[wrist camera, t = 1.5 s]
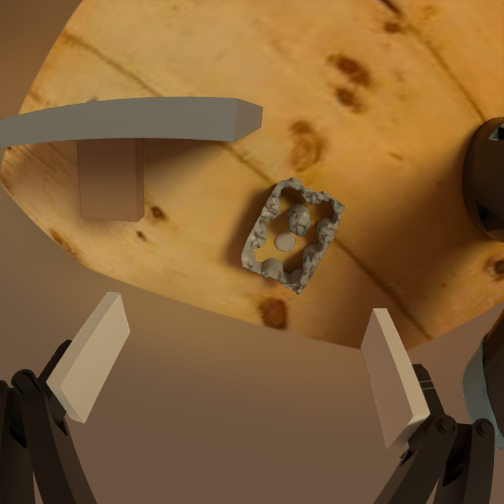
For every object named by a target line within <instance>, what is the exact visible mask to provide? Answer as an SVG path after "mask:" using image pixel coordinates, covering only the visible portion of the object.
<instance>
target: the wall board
mask: <svg viewBox="0 0 504 504" xmlns="http://www.w3.org/2000/svg"><path fill="white" fill-rule="evenodd" d="M262 111H263V107H261V106H258V105H255V104H252V103H249V102H247V101H243V100H240V99H236V98H218V97H147V98H130V99H116V100H106V101H96V102H88V103H80V104H73V105H67V106H61V107H55V108H49V109H44V110H39V111H34V112H29V113H25V114H20V115H16V116H12V117H8V118H4V119H1V120H0V148H3V147H10V146H17V145H25V144H33V143H43V142H53V141H65V140H77V149H78V173H79V188H80V199H81V209H82V216H83V217H93V218H102V219H111V220H120V221H129V222H138V221H139V220H141V219H142V218H143V217H144V186H143V151H144V138H178V139H199V140H215V141H229V142H234V141H236V140H238V139H240V138H241V137H243V136H245V135H247V134H249V133H251V132H252V131H254V130H256V129H258V128H260V127H261V121H262Z"/></svg>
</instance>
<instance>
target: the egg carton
mask: <svg viewBox="0 0 504 504" xmlns="http://www.w3.org/2000/svg"><path fill="white" fill-rule="evenodd" d="M289 186H290V187H292V188H293V189H295V190H301V195H302V196H303V197H304V198H305V200H306V202H307V203H309V204H311V205H313V204H314V203H317V204H318V203H320V202H322V201H323V200H324V201H327V202H328V201H329V199H331V204H332V207H333V209H334V211H335V213H334V215H333V216H332V218H330V217H326V218H322V219H321V220H320V221H319V222H318V224H317V235H318V238H319V242H318V244H311V245H308V246H307V247H306V248H305V249H304V251H303V269H296V270H294V271H293V272H292V273H291V274H289V273H287V272H284V271H283V264H282V262H281V261H280V260H278V259H276V258H269V259H267V260H266V261H264V263H261V262H259V261H257V260H256V259H255V253H254V251H253V250H252V249H256V248H260V247H261V246H262V245H263V244H264V243H265V240H266V234H267V228H266V226H265V224H264V223H265V222H266V221H268V220H270V221H271V220H274V218H275V217H276V216H277V215H278V214H279V213H280V199H279V197H278V196H280V195H281V189H283V188H287V187H289ZM344 208H345V205H342V204H341V203H339V201H337V200H335V199H333V198H332V196H331V194H329V193H327V192H325V191H322V192H321V193H316V192H314V191H313V190H310V189H307V188H304V187H303V185H302V181H301V180H299V179H296V178H294V177H293V178H292V179H291V180H290V181H284V180H282V181H281V182H280V183H277V184H276V185H275V188H274V190H273V192H272V194H271V195H270V197H269V198H268V200H267V203H266V205H265V206H264V208H263V211H262V213H261V215H260V216H259V218H258V220H257V222H256V224H255V226H254V228H253V230H252V231H251V233H250V235H249V237H248V239H247V241H246V244H245V246H244V249H243V251H242V254H241V259H242V265H243V267H245V268H247V269H249V270H251V271H252V272H253V271H254V272H257V273H259V274H261V275H263V276H264V277H266V278H267V277H268V276H269V277H272V278H274V279H276V280H279V283H280V284H281V285H283V286H284V287H286V288H288V289H291V290H293V291H295V292H297V294H300V293H301V292H302V290H303V289H304V288H305V286H306V285H307V283H308V281H309V280H310V278H311V277H312V275H313V273H314V271H315V268H316V266H317V265H318V263H319V262H320V260H321V259H322V258H323V255H324V253H325V251H326V250H327V248H328V246H329V245H330V243H331V242H332V240H333V238H334V235H335V233H336V230H337V227H338V223H339V221H340V217H341V214H342V212H343V211H344ZM309 210H310V209H309ZM309 210H308V208H306V207H305V206H304V205H301V204H297V205H294V206H292V207H291V208H290V209H289V210H288V215H287V222H288V227H289V230H290V231H291V232H292V233H294V234H296V235H297V236H304V235H305V234H306V232H307V229H308V228H309V226H310V225H311V217H310V213H309ZM295 244H296V240H295V237H294V236H293V235H292V234H291V233H287V232H285V233H281V234H279V235H278V236H277V237H276V239H275V245H276V247H277V249H278V250H280V251H283V252H285V251H290V250H292V249H293V248H294V247H295Z"/></svg>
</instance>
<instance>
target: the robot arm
mask: <svg viewBox="0 0 504 504" xmlns="http://www.w3.org/2000/svg"><path fill="white" fill-rule="evenodd" d="M463 195H464V201H465V205H466V208H467V211H468V213H469V215H470V217H471V219H472V221H473V222H474V224H475V225H476V226H477V227H478V228H479V229H480V230H481V231H483V232H484V233H485V234H486V235H488V236H489V237H490V238H492V239H494V240H496V241H499V242H502V243H504V117H498V118H494V119H492V120H490V121H488V122H487V123H485V124H484V125H483V126H482V127H481V128H480V129H479V130H478V132H477V133H476V134H475V136H474V138H473V139H472V141H471V143H470V146H469V148H468V151H467V154H466V158H465V162H464V168H463ZM129 333H130V329H129V325H128V322H127V318H126V315H125V311H124V307H123V303H122V299H121V295H120V293H116V292H107V294H106V295H105V296H104V298H103V299H102V300H101V302H100V303H99V305H98V306H97V307H96V309H95V310H94V311H93V313H92V314H91V315H90V317H89V318H88V320H87V321H86V322H85V324H84V325H83V327H82V328H81V330H80V331H79V332H78V334H77V335H76V337H75V338H74V340H73V341H71V340H66V341H65V342H64V343H63V344H61V345H60V346H59V347H58V349H57V350H56V352H55V355H53V356H52V358H51V360H50V361H49V362H48V364H47V365H46V367H45V368H44V370H43V371H42V373H41V374H40V376H39V377H38V379H37V378H36V376H35V374H34V373H33V372H32V371H31V370H28V369H22V370H20V371H18V372H17V373H15V374H14V376H13V377H12V379H11V384H12V386H13V387H14V388H10V387H9V386H8V384H7V383H6V382H5V381H3V380H0V504H35V496H34V482H33V472H34V475H35V479H36V482H37V486H38V489H39V492H40V495H41V498H42V501H43V504H97V502H96V500H95V498H94V496H93V493H92V491H91V489H90V487H89V484H88V482H87V480H86V477H85V475H84V472H83V470H82V467H81V464H80V462H79V459H78V457H77V453H76V451H75V448H74V445H73V442H72V439H71V435H70V432H69V429H68V426H67V422H66V420H65V418H64V416H65V414H66V412H67V413H68V415H69V416H70V418H71V419H73V420H76V421H79V422H82V423H85V421H86V419H87V417H88V415H89V413H90V411H91V409H92V407H93V404H94V402H95V400H96V398H97V396H98V394H99V392H100V390H101V388H102V386H103V384H104V381H105V380H106V378H107V375H108V374H109V371H110V370H111V367H112V366H113V364H114V362H115V360H116V358H117V356H118V354H119V352H120V350H121V348H122V346H123V344H124V343H125V340H126V339H127V337H128V335H129ZM360 347H361V351H362V354H363V357H364V361H365V365H366V368H367V372H368V375H369V379H370V383H371V386H372V390H373V394H374V398H375V401H376V405H377V410H378V414H379V418H380V422H381V426H382V431H383V435H384V439H385V444H386V449H393V448H399V447H402V446H403V445H404V444H405V443H406V442H407V441H408V443H409V448H408V449H407V451H405V452H404V453H403V455H402V456H401V457H400V458H402V460H401V462H400V463H399V465H398V467H397V468H396V470H395V472H394V473H393V475H392V476H391V478H390V480H389V481H388V483H387V484H386V486H385V487H384V489H383V490H382V492H381V493H380V495H379V496H378V498H377V499H376V500H375V502H374V503H373V504H426V502H427V500H428V498H429V497H430V495H431V493H432V491H433V489H434V487H435V485H436V483H437V481H438V478H439V481H438V485H437V489H436V493H435V497H434V502H433V504H489V500H490V494H491V485H492V477H493V466H494V450H495V448H498V449H501V450H504V309H503V311H502V313H501V314H500V316H499V317H498V319H497V320H496V322H495V323H494V325H493V327H492V328H491V330H490V331H489V332H488V333H487V334H486V335H485V336H484V337H483V338H482V341H481V344H480V346H479V347H478V349H477V350H476V352H475V353H474V355H473V356H472V357H471V359H470V360H469V362H468V364H467V365H466V368H465V370H464V374H463V380H462V388H463V389H462V391H463V395H464V404H465V408H466V411H467V414H468V417H469V419H470V422H471V423H472V424H459V423H456V421H455V420H454V419H453V418H452V417H451V416H448V415H446V414H445V412H444V410H443V408H442V405H441V402H440V400H439V397H438V395H437V393H436V390H435V389H434V385H433V383H432V382H431V378H430V376H429V374H428V371H427V370H426V369H425V368H424V367H423V366H422V365H421V364H412V365H411V362H410V360H409V357H408V355H407V353H406V350H405V348H404V346H403V343H402V341H401V339H400V337H399V334H398V332H397V330H396V328H395V326H394V323H393V321H392V319H391V317H390V315H389V313H388V311H387V308H373V310H372V314H371V317H370V320H369V323H368V326H367V329H366V332H365V335H364V338H363V341H362V344H361V346H360Z"/></svg>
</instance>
